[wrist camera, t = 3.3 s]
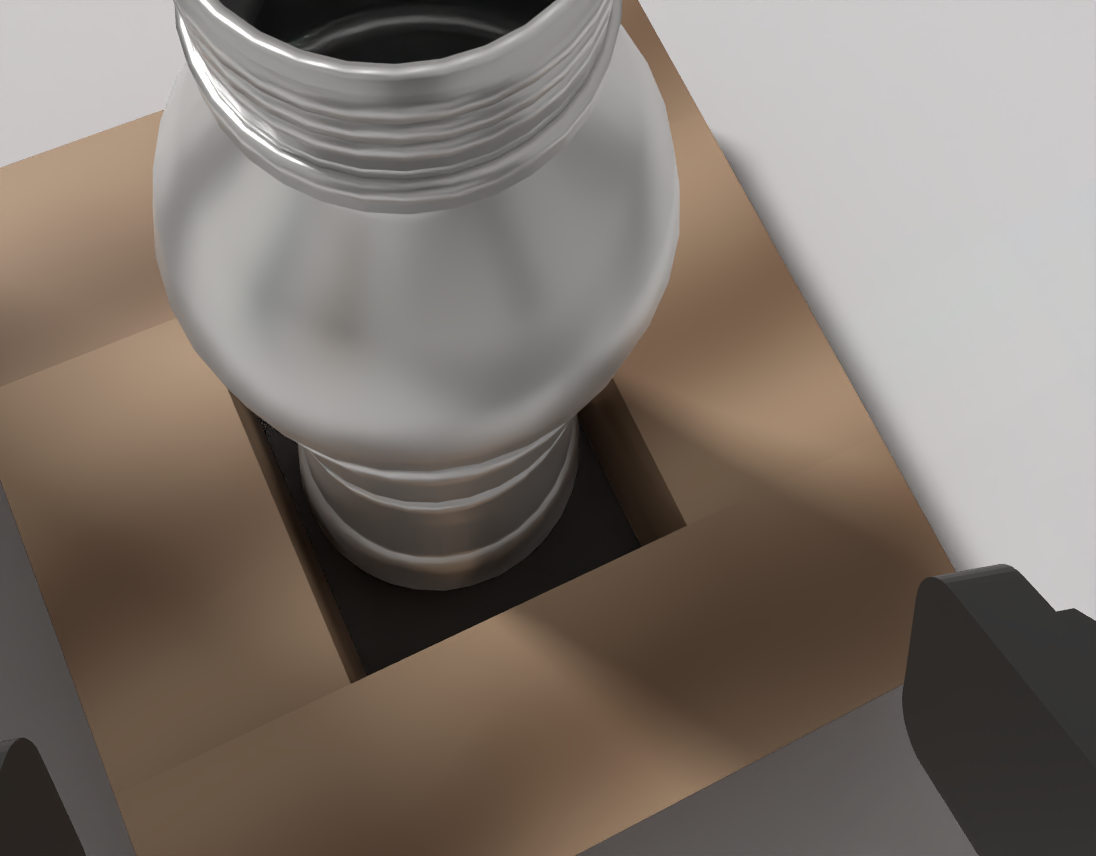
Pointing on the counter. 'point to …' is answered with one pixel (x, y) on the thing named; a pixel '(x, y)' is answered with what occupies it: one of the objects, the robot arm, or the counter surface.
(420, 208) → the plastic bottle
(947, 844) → the counter surface
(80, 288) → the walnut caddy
